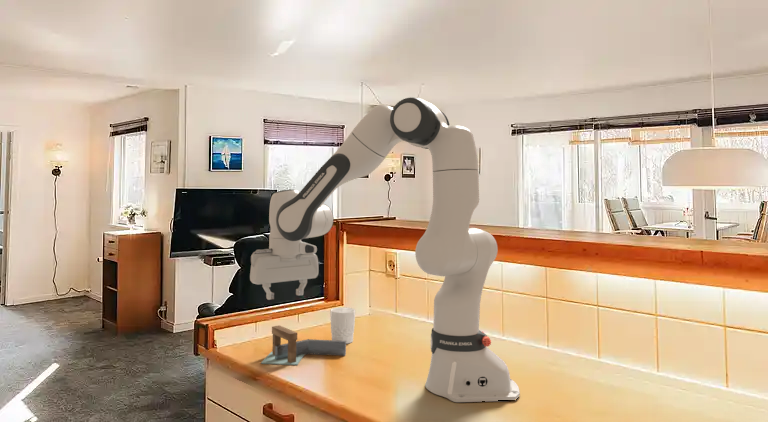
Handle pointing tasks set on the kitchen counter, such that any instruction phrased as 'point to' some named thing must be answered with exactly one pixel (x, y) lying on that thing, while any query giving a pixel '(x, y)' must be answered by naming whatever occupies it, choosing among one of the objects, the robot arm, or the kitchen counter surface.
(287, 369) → the kitchen counter surface
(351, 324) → the white cup
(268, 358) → the pad
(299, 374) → the kitchen counter surface
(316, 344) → the rail
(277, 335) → the arch
